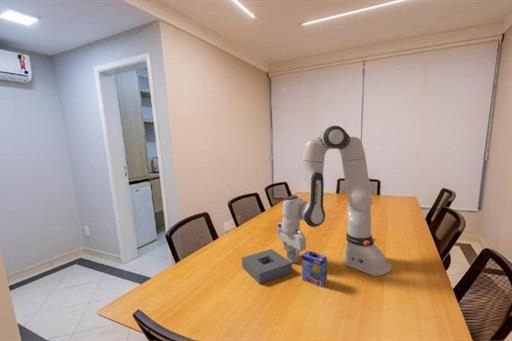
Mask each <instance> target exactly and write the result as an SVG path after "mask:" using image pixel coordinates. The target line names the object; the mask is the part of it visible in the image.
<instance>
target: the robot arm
mask: <svg viewBox="0 0 512 341" xmlns="http://www.w3.org/2000/svg"><path fill="white" fill-rule="evenodd" d="M334 149H336V150H338V152H339V154H340V158H341V163H342V171H343V177H344V184H345V191H346V198H347V223H346V224H347V231H346V236H345V237H346V238H345V239H346V248H345V252H344V255H343V256H344V257H343V260H344V265H345V266H348V267H350V268H353V269H355V270H358V271H360V272H363V273H366V274H368V275H370V276H373V277H375V276H376V277H379V276H383V275H386V274H388V273H390V272H391V271H392V268H393V267H392V265H391V264H389V263H387V259H386V258H387V257H386V255H385V253H383V252H382V250H381V249H380V248H379V247H378V246H377V245H376V244H375V242H376V238H373V235H372V233H371V232H372V217H371V216H372V214H371V213H372V210H371V209H372V208H371V206H372V205H373V195H372V188H371V183H370V178H369V177H370V176H369V173H368V172H369V171H368V166H367V159H366V153H365V150H364V146H363V143H362V140H361V139H360V138H359V137H357V136H350V135H349V134H348V132H347V131H346V130H345V129H344V128H343V127H342V126H339V125H331V126H329V127H326V128H325V129H324V130H322V132H321V133H320V135H319V136H318V137H317V138H311V139H308V140H307V141H306V142H305V144H304V148H303V152H302V158H301V174H302V175H303V176H304V178H305V179H306V181H307V182H308V185H309V200H306V199H303V198H300V197H299V196H297V195H288V196H286V197H285V198H284V199H283V202H282V209H281V210H282V216H283V218H282V221H280V222H277V223H276V224H277V238H278V239H279V240H281V241H282V246H283V249H284V250H286V251H287V246H289V245H290V246H292V247H294V248H295V249H296V252H295V256H296V257H298V258H299V256H300V253H301V252H303V251H306V249H307V244H306V237H305V235H304V233H303V232H302V231H300V230H301V226H300V225H301V221H302V220H303V221H304V222H305V223H306V224H307V226H309V227H311V228H316V227H317V228H318V227H320V226H321V225H322V224H323V223H324V221H325V219H326V213H325V209H324V187H325V186H324V182H325V180H324V166H325V156H326V153H327V151H328V150H334Z"/></svg>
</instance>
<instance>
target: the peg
mask: <svg viewBox="0 0 512 341" xmlns="http://www.w3.org/2000/svg"><path fill="white" fill-rule="evenodd" d="M295 252H296V249H295V248H294V247H292V246H290V245H289V244H288V245H287V250H286V259H287V260H289V261H290V262H292V264H296V263H298V262H299V260H298V259H299V256H298V257H296V256H295Z"/></svg>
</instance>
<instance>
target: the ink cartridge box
mask: <svg viewBox="0 0 512 341" xmlns="http://www.w3.org/2000/svg"><path fill="white" fill-rule="evenodd" d="M327 258H328V257H327V255H323V254H319V253H317V252H314V251H310V250H305V252H304V253H302V254H301V273H302V275H301V278H302V281H304V282H307V283H310V284H313V285H314V286H317V287H320V288H323V287H324V286H325V285H326V284H327V282H328V270H327V268H328V266H327V263H328V261H327Z"/></svg>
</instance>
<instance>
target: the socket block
mask: <svg viewBox="0 0 512 341" xmlns="http://www.w3.org/2000/svg"><path fill="white" fill-rule="evenodd" d="M241 267H242V268H243V269H244V271H245V272H247V273H248V275H249V276H251V277H252V279H254V280H255V282H256V283H258V284H259V285H262V284H264V283H267V282H270V281H273V280H276V279H278V278H281V277H283V276H284V277H285V276H286V275H289V274H293V263H292V262H290V261H289V260H287V257H284V256H283V255H281V254H280V253H278V252H276V251H275V250H274V249H272V248H270V249H267V250H264V251H260V252H257V253H253V254H250V255H245V256H243V257H241Z"/></svg>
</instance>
